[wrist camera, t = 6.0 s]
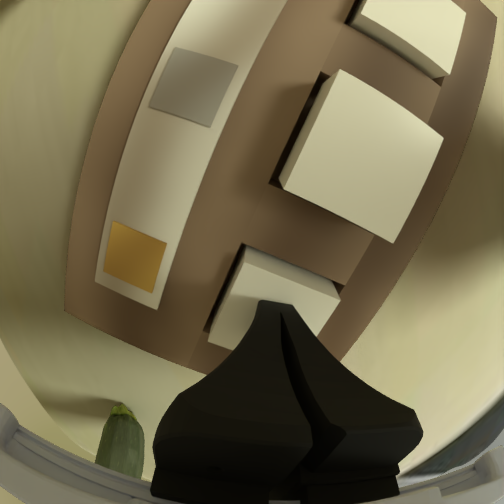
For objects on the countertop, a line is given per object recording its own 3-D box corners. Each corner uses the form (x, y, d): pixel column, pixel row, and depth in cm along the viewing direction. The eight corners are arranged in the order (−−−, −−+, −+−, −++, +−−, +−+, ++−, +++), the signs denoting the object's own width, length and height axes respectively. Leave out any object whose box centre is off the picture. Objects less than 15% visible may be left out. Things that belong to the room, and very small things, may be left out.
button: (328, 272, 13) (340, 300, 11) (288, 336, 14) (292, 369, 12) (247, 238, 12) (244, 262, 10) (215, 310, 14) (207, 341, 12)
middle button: (410, 135, 9) (443, 138, 7) (368, 222, 11) (393, 243, 8) (322, 83, 9) (340, 68, 7) (278, 178, 10) (283, 188, 8)
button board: (472, 25, 8) (500, 16, 5) (300, 372, 16) (305, 406, 14) (246, -86, 6) (243, -113, 4) (84, 289, 15) (61, 313, 12)
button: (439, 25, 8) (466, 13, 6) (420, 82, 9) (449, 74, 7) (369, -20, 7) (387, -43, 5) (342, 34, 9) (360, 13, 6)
